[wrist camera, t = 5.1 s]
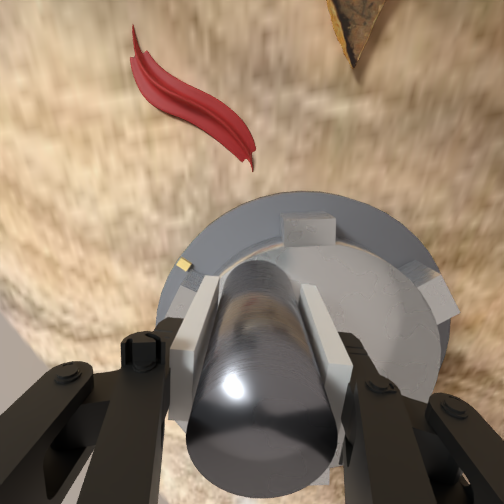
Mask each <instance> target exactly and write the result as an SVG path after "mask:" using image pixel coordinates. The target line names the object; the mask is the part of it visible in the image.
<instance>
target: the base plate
mask: <svg viewBox="0 0 504 504" xmlns="http://www.w3.org/2000/svg"><path fill="white" fill-rule="evenodd" d="M310 211H325V212H327V213H328V214H330V215H331V216H333V217H335V218H336V236H337V237H341V238H344V239H348V240H350V241H353V242H355V243H357V244H359V245H362V246H364V247H365V248H367V249H369V250H370V251H372V252H373V253H375V254H377V255H378V256H379V257H381V258H382V259H384V260H385V261H387V262H388V263H389V264H391V265H392V266H394V267H395V268H397V269H398V268H400V267H402V266H404V265H405V264H407V263H409V262H411V261H412V260H414V259H415V260H416V261H418V262H420V263H422V264H423V265H425V266H427V267H429V268H431V269H432V270H434V271H436V272H438V273H439V274H441V273H440V271H439V268H438V267H437V265H436V263H435V262H434V260H433V258H432V256H431V255H430V253H429V252H428V250H427V249H426V248H425V247H424V245H423V244H422V243H421V242H420V241H419V239H418V238H417V237H416V236H415V235H414V234H413V233H412V232H410V231H409V230H408V229H407V228H406V227H405V226H404V225H403V224H401V223H400V222H398V221H397V220H395V219H394V218H392V217H391V216H389V215H388V214H386V213H385V212H383V211H380V210H378V209H376V208H374V207H372V206H370V205H368V204H365V203H362V202H359V201H356V200H353V199H350V198H346V197H343V196H340V195H335V194H330V193H324V192H314V191H294V192H283V193H277V194H272V195H268V196H264V197H260V198H257V199H254V200H252V201H249V202H246V203H244V204H241V205H239V206H238V207H236V208H234V209H232V210H230V211H228V212H226V213H225V214H223V215H222V216H220V217H219V218H218V219H216V220H215V221H213V222H212V223H211V224H209V225H208V226H207V227H206V228H205V229H204V230H203V231H202V232H201V233H200V234H199V235H198V236H197V237H196V238H195V239H194V240H193V241H192V242H191V244H190V245H189V246H188V247H187V249H186V250H185V251H184V252H183V254H182V255H181V256H180V257H179V259H178V260H177V262H176V264H175V265H174V267H173V269H172V270H171V272H170V274H169V276H168V278H167V280H166V283H165V285H164V288H163V290H162V293H161V297H160V301H159V305H158V309H157V317H156V326H157V324H158V323H159V322H160V321H162V320H163V319H164V318H165V316H166V314H167V312H168V309H169V307H170V305H171V303H172V301H173V299H174V297H175V295H176V293H177V291H178V289H179V287H180V285H181V283H182V282H183V280H184V279H185V277H186V275H187V274H188V272H189V271H190V269H193V270H195V271H197V272H199V273H201V274H203V275H208V276H213V275H214V274H215V273H216V272H217V270H219V269H220V268H221V267H222V266H223V265H224V264H225V263H226V262H227V261H228V260H230V259H231V258H232V257H234V256H235V255H237V254H238V253H239V252H241V251H243V250H244V249H246V248H248V247H250V246H252V245H254V244H256V243H259V242H261V241H264V240H267V239H269V238H273V237H277V236H280V213H288V212H310ZM437 327H438V331H439V336H440V346H441V357H440V367H441V365H442V362H443V360H444V357H445V354H446V349H447V345H448V341H449V333H450V319H448V320H446V321H444V322H442V323H440V324H438V325H437ZM439 370H440V368H439Z"/></svg>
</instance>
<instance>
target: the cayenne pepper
mask: <svg viewBox="0 0 504 504" xmlns="http://www.w3.org/2000/svg"><path fill="white" fill-rule="evenodd" d="M132 34H133V44H134V50H135V57H130V63H131V68H132V72H133V75H134V78H135V81H136V84H137V86H138V88H139V90H140V92H141V93H142V95H143V96H144V97H145V99H146V100H147V101H148V102H149V103H151V104H152V105H153V106H155V107H156V108H158V109H160V110H162V111H164V112H166V113H169V114H171V115H174V116H177V117H179V118H182V119H184V120H187V121H189V122H190V123H192V124H194V125H196V126H197V127H199V128H200V129H202V130H204V131H205V132H207V133H208V134H210V135H211V136H212V137H214V138H215V139H216V140H217V141H219V142H220V143H221V144H222V145H223V146H225V147H226V148H227V149H228V150H229V151H230V152H232V153H233V154H234V155H235V156H236V157H237V158H238V159H239V160H240V161H241V162H243V161H244V160H245V159H247V160H248V161H249V162H250V164H251V167H252V172H253V164H252V152H254V151H255V150H256V147H255V143H254V140H253V138H252V136H251V133H250V132H249V130H248V128H247V126H246V125H245V123H244V122H243V121H242V119H241V118H240V117H239V116H238V115H237V114H236V113H235V112H234V111H233V110H231V109H230V108H229V107H228V106H226V105H225V104H224V103H222V102H221V101H220V100H218V99H216V98H215V97H213V96H211V95H209V94H207V93H205V92H203V91H201V90H199V89H197V88H194V87H192V86H190V85H188V84H186V83H184V82H183V81H181V80H179V79H177V78H176V77H174V76H172V75H171V74H169V73H168V72H166V71H165V70H164V69H163V68H161V67H160V66H159V65H158V64H157V63H156V62H155V60H154V59H153V58H152V57H151V55H150V54H149V52H148V51H145V53H144V54H143V53H142V52H141V50H140V48H139V45H138V42H137V39H136V35H135V31H134V25H133V27H132Z"/></svg>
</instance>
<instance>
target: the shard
mask: <svg viewBox="0 0 504 504" xmlns="http://www.w3.org/2000/svg"><path fill="white" fill-rule="evenodd" d="M326 1H327V6H328V10H329V13H330V15H331V21H332V24H333V29H334V31H335V34H336V36H337V39H338V41H339V42H340V44H341V46H342V49H343V53H344V55H345V56H346V58H347V60H348V61H349V64H350V66H351V68H352V69H354V68H355V66H356V63H357V61H358V59H359V58H360V55H361V52H362V50H363V49H364V47H365V45H366V43H367V41H368V39H369V36H370V33H371V31H372V28H373V25H374V22H375V21H376V19H377V17H378V15H379V13H380V11H381V9H382V7H383V4H384V3H385V1H386V0H326Z"/></svg>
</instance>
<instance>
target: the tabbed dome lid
mask: <svg viewBox="0 0 504 504" xmlns="http://www.w3.org/2000/svg"><path fill="white" fill-rule="evenodd" d="M213 276H219V277H220V282H219V297H218V309H217V313H216V317H215V321H214V325H213V329H212V332H211V336H210V340H209V344H208V348H207V352H206V356H205V359H204V363H203V367H202V371H201V375H200V379H199V382H198V386H197V390H196V394H195V398H194V402H193V405H192V409H191V413H190V417H189V421H188V422H186V421H176V423H177V424H178V425H179V426H180V427H181V428H182V430H183V431H184V432H185V433H186V444H187V449H188V453H189V455H190V458H191V460H192V462H193V464H194V465H195V467H196V468H197V469H198V471H199V472H200V473H201V474H202V475H203V476H204V477H205V478H206V479H207V480H208V481H210V482H211V483H212V484H214V485H215V486H217V487H219V488H220V489H223V490H225V491H227V492H229V493H232V494H235V495H239V496H244V497H250V498H274V497H280V496H285V495H288V494H292V493H294V492H297V491H299V490H301V489H303V488H305V487H307V486H308V485H329V473H330V468H333V467H338V466H342V465H343V463H342V465H339V459H340V454H341V450H342V445H343V441H344V436H345V431H344V428H343V425H342V421H341V426H340V430H339V435H338V430H337V426H336V421H335V418H334V415H333V412H332V409H331V406H330V403H329V400H328V397H327V393H326V390H325V387H324V384H323V381H322V378H321V375H320V372H319V369H318V366H317V362H316V359H315V356H314V353H313V350H312V347H311V344H310V341H309V338H308V334H307V331H306V328H305V325H304V322H303V319H302V316H301V313H300V310H299V307H298V303H299V296H300V289H301V284H306V285H316V287H317V289H318V291H319V293H320V295H321V298H322V300H323V302H324V304H325V306H326V308H327V310H328V313H329V315H330V317H331V319H332V321H333V323H334V325H335V328H336V330H337V332H347V333H352V334H353V335H354V336H356V337H357V338H358V339H359V340H360V341H361V343H362V344H363V346H364V349H365V350H366V351H367V353H368V356H369V357H370V358H371V360H372V362H373V364H374V365H375V367H376V369H377V371H378V372H379V374H380V375H382V376H384V377H386V378H388V379H389V380H391V381H392V382H393V383H394V384H396V385H397V387H398V388H399V390H400V392H401V395H403V396H406V397H408V398H411V399H415V400H418V401H421V402H424V403H428V400H429V397H430V396H431V395H432V392H433V389H434V387H435V384H436V381H437V377H438V372H439V368H440V357H441V346H440V336H439V331H438V327H437V325H438V324H440V323H442V322H444V321H446V320H448V319H450V318H451V317H453V316H455V315H457V314H459V313H460V311H459V309H458V307H457V305H456V303H455V301H454V299H453V297H452V295H451V293H450V291H449V289H448V287H447V285H446V283H445V281H444V279H443V277H442V275H441V274H439V273H438V272H436V271H434V270H432V269H431V268H429V267H427V266H425V265H423V264H422V263H420V262H418V261H416V260H415V259H414V260H412V261H411V262H409V263H407V264H405V265H404V266H402V267H400V268H398V269H397V268H395V267H394V266H392V265H391V264H389V263H388V262H387V261H385V260H384V259H382V258H381V257H379V256H378V255H377V254H375V253H373V252H372V251H370V250H369V249H367V248H365V247H364V246H362V245H359V244H357V243H355V242H353V241H350V240H348V239H344V238H341V237H337V236H336V218H335V217H333V216H331V215H330V214H328V213H327V212H325V211H310V212H288V213H280V236H277V237H273V238H269V239H267V240H264V241H261V242H259V243H256V244H254V245H252V246H250V247H248V248H246V249H244V250H243V251H241V252H239V253H238V254H237V255H235V256H234V257H232V258H231V259H230V260H228V261H227V262H226V263H225V264H224V265H223V266H222V267H221V268H220V269H219V270H217V272H216V273H215V274H214V275H213ZM204 277H205V275H203V274H201V273H199V272H197V271H195V270H193V269H190V271H189V272H188V274H187V275H186V277H185V279H184V280H183V282H182V283H181V285H180V287H179V289H178V291H177V293H176V295H175V297H174V299H173V301H172V303H171V305H170V307H169V309H168V312H167V314H166V316H165V318H167V317H173V318H185V316H186V314H187V312H188V310H189V308H190V306H191V304H192V301H193V299H194V297H195V295H196V293H197V291H198V289H199V287H200V285H201V283H202V281H203V279H204ZM165 318H164V319H165Z"/></svg>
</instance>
